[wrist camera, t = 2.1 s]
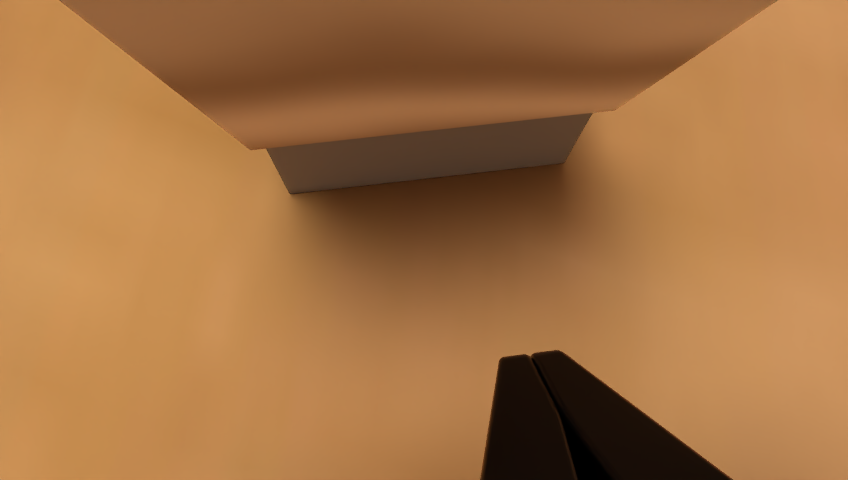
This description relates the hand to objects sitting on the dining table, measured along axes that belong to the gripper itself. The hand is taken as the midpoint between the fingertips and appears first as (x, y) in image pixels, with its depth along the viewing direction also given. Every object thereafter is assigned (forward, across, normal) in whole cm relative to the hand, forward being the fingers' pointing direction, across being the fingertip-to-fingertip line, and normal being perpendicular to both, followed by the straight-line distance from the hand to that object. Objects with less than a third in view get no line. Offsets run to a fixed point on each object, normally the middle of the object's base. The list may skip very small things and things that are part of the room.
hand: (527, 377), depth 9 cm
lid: (+6, 0, -3) cm, 7 cm away
